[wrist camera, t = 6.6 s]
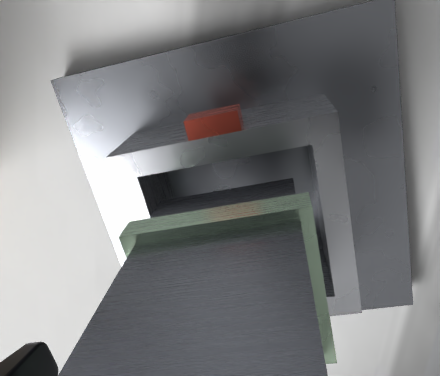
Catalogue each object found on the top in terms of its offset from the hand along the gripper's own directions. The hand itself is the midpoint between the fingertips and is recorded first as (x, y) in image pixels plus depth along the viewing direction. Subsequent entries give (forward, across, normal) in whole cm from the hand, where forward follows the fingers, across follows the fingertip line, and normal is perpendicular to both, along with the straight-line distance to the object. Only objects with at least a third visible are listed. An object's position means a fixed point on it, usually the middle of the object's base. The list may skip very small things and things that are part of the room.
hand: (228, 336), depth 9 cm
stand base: (+8, 0, 0) cm, 8 cm away
